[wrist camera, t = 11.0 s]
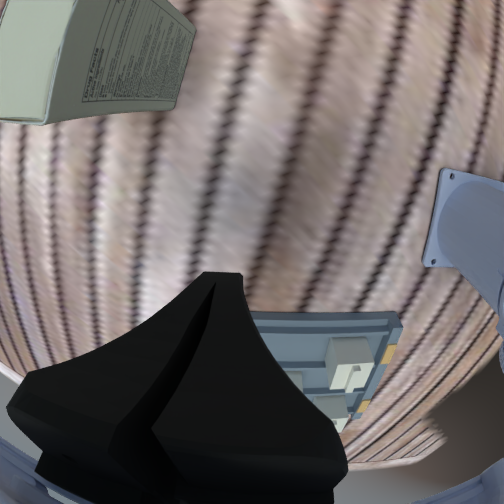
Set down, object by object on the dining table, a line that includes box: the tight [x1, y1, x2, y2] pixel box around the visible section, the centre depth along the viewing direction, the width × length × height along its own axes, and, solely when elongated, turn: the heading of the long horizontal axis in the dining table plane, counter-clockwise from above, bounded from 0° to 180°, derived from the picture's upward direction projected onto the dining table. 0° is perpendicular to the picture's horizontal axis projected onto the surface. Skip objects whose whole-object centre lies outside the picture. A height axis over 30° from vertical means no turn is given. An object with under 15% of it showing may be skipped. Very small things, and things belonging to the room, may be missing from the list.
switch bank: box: [250, 312, 403, 419], centre depth 25 cm, size 14×14×2 cm
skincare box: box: [0, 0, 196, 126], centre depth 10 cm, size 6×4×12 cm
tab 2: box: [313, 395, 349, 432], centre depth 25 cm, size 3×3×4 cm
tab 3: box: [325, 336, 375, 393], centre depth 21 cm, size 3×3×4 cm
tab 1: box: [285, 371, 303, 393], centre depth 23 cm, size 3×3×4 cm
